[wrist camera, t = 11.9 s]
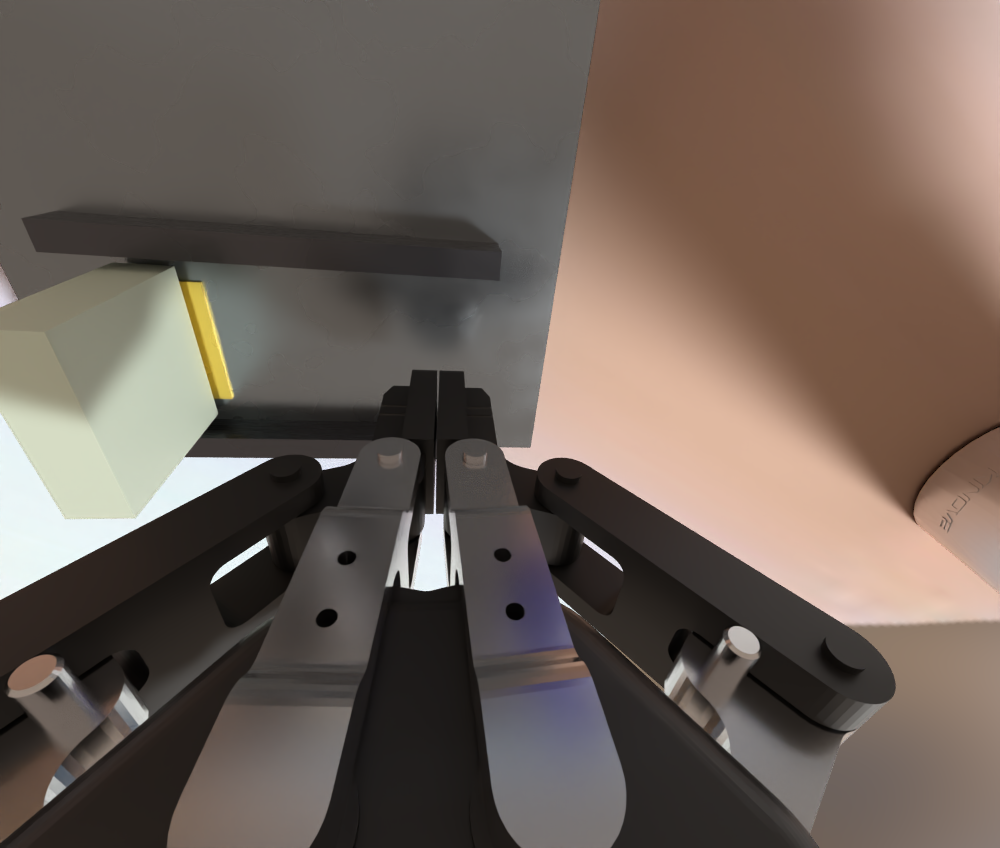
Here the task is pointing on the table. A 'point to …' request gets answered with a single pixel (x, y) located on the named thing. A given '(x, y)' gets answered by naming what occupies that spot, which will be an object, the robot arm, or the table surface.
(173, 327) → the pale green eraser block
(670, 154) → the table surface
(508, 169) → the panel
